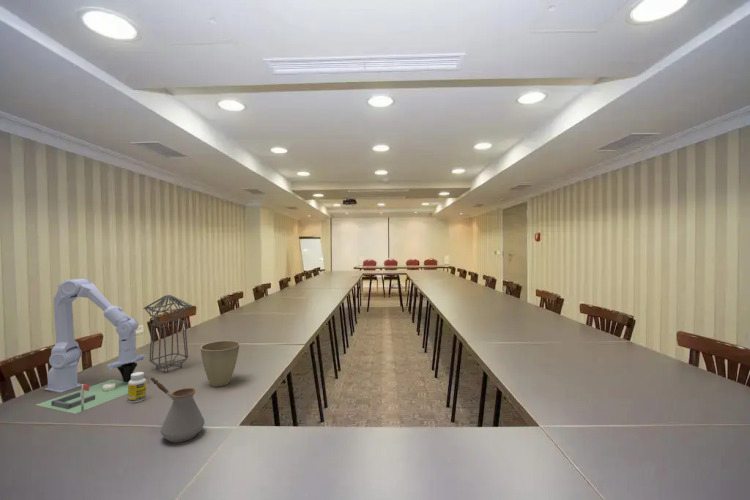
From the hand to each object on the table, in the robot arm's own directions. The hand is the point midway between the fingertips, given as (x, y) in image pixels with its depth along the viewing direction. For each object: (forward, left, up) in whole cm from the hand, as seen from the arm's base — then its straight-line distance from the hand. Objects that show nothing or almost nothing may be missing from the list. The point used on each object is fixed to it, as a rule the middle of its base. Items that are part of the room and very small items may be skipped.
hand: (126, 381), depth 142 cm
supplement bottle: (+19, -10, -1) cm, 22 cm away
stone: (0, -7, -1) cm, 7 cm away
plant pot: (+36, +13, -1) cm, 38 cm away
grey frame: (+4, -19, -1) cm, 20 cm away
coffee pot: (+51, -23, -1) cm, 56 cm away
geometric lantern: (0, +19, -1) cm, 19 cm away
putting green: (0, -12, -1) cm, 12 cm away
